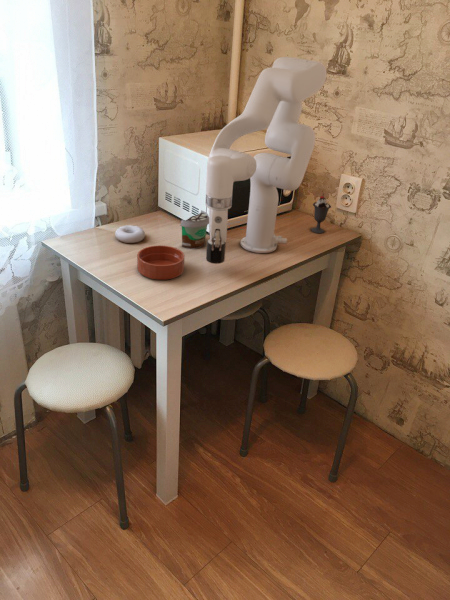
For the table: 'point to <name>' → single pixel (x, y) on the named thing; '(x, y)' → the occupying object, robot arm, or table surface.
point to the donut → (130, 234)
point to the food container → (194, 230)
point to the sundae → (320, 213)
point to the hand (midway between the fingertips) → (215, 256)
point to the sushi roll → (208, 253)
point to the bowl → (160, 262)
